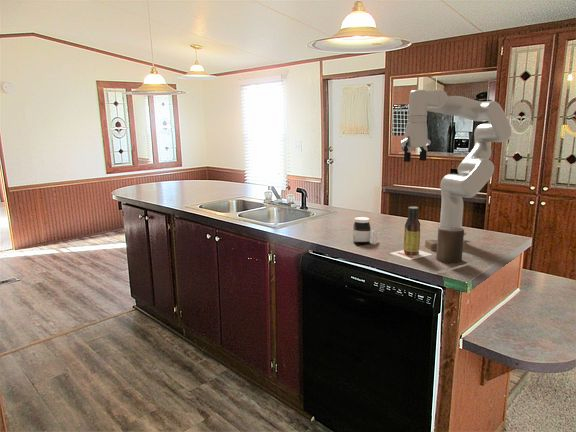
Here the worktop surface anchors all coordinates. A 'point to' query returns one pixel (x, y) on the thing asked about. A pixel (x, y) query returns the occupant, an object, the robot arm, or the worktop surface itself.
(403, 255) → the board
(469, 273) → the worktop surface
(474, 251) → the worktop surface
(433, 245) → the walnut block
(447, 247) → the brown cylindrical pedestal
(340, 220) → the worktop surface
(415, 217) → the sauce bottle
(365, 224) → the spread jar
